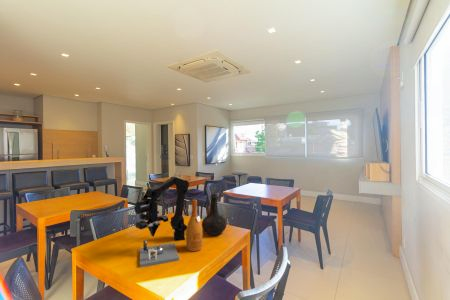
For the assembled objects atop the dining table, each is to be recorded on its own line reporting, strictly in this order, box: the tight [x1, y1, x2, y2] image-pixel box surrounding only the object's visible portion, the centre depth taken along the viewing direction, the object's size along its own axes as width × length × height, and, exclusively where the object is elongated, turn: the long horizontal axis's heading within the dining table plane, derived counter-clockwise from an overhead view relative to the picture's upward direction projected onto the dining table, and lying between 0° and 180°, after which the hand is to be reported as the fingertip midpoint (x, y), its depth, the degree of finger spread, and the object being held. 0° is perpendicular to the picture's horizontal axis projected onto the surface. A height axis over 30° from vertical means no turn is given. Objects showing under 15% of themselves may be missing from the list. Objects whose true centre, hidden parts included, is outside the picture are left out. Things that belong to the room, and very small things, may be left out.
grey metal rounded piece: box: [142, 239, 163, 257], centre depth 126 cm, size 9×11×6 cm
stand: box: [139, 242, 180, 268], centre depth 128 cm, size 20×20×7 cm
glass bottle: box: [201, 193, 228, 236], centre depth 161 cm, size 18×18×28 cm
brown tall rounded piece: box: [185, 199, 203, 252], centre depth 136 cm, size 10×10×30 cm
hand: (152, 236), depth 132 cm, fingers closed
